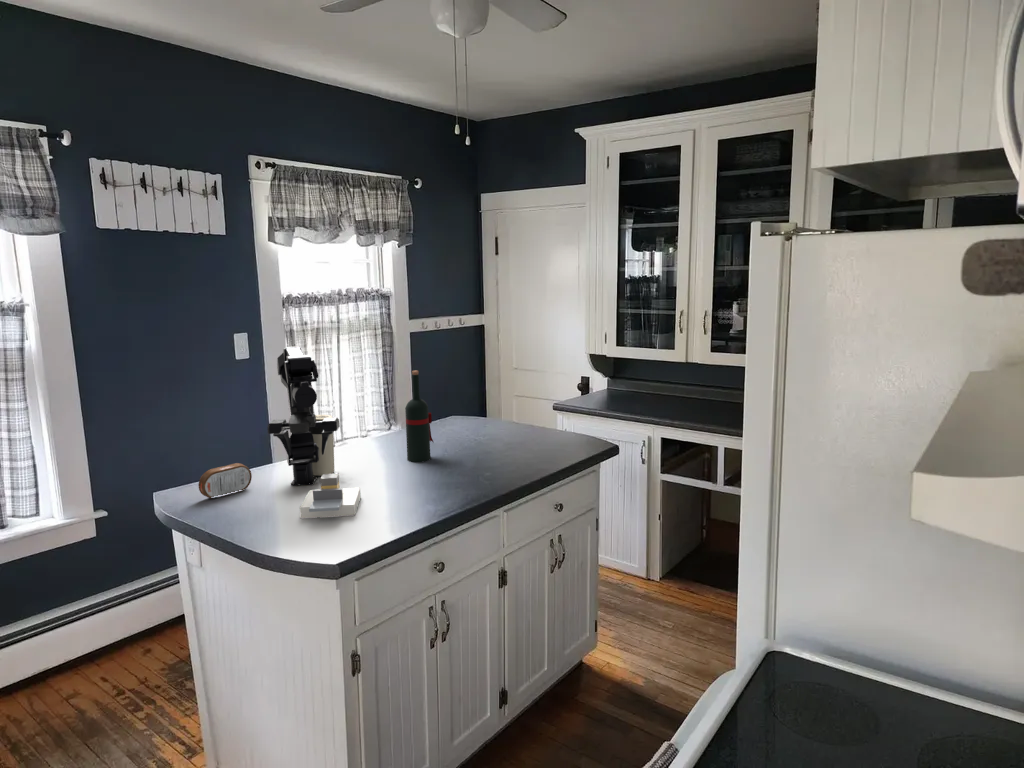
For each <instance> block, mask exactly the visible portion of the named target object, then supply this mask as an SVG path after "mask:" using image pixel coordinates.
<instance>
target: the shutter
mask: <svg viewBox="0 0 1024 768" xmlns="http://www.w3.org/2000/svg"><path fill="white" fill-rule="evenodd" d="M312 490H313V502H312V504H311V506H310V508H309V512H317V511H335V510H339V509H340V507H341V504H342V502H343V491H342V487H340V488H334V489H321V488H318V489H317V488H315V489H312Z"/></svg>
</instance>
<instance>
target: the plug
mask: <svg viewBox="0 0 1024 768" xmlns="http://www.w3.org/2000/svg"><path fill="white" fill-rule="evenodd" d="M339 474H340V473H339V472H338V473H337V472H336V473H335V472H333V473H331V474H323V475H322V476H321V477H320V478H319V479H320V489H334V488H341V487H340V475H339Z"/></svg>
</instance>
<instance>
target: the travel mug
mask: <svg viewBox="0 0 1024 768" xmlns="http://www.w3.org/2000/svg"><path fill="white" fill-rule="evenodd" d="M315 416H316V421H323V420H324V418H333V416H332V415H329V414H315ZM308 431H309V432H311V433H312V434H313V439H314V443H316V445H317V446H318V447H319V461H317V462H314V463H312V466H313V476H316V477H320V476H321V477H322V475H323V474H334V473H335V444H334V443H335V441H334V439H335V437H334V433H333V434H330V435H329V438H328V441H327V445H326V448H325V452H324V455H322V432H323V429H322V428H309V430H308Z"/></svg>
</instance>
